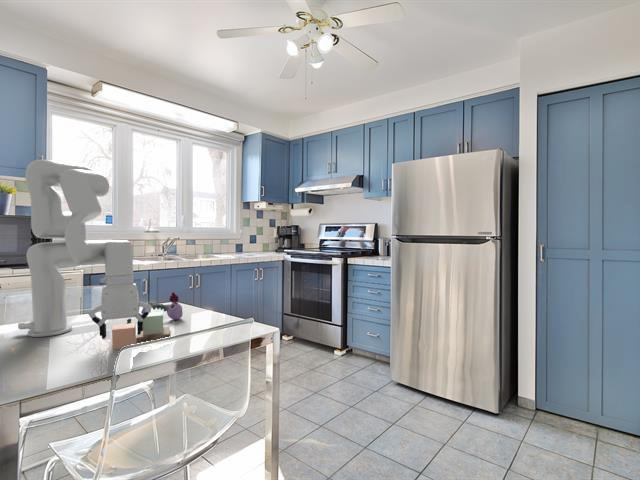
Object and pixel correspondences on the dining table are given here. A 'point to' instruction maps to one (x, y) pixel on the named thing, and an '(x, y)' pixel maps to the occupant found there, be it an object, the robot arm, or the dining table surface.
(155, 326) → the sage cube
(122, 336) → the terracotta cube
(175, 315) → the toy
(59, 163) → the robot arm
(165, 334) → the board
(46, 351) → the dining table surface
